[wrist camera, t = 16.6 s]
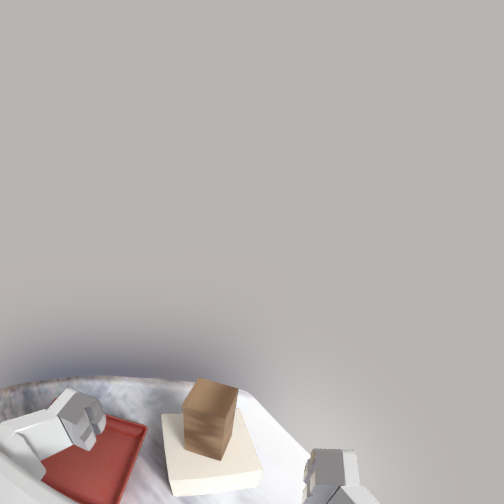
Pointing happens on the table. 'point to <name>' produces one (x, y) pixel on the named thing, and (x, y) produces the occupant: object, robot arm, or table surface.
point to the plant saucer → (97, 464)
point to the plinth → (209, 461)
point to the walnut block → (209, 418)
